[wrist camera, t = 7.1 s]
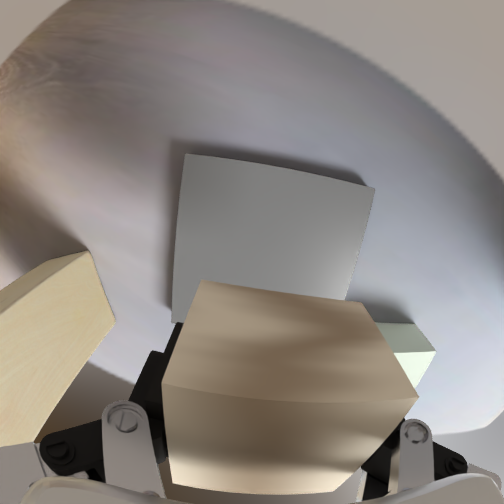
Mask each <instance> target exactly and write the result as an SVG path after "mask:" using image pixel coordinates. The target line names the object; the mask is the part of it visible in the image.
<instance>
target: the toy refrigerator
mask: <svg viewBox="0 0 504 504" xmlns="http://www.w3.org/2000/svg"><path fill="white" fill-rule="evenodd" d="M115 322H116V321H115V317H114V315H113V312H112V310H111V308H110V305H109V303H108V300H107V298H106V295H105V292H104V290H103V287H102V284H101V282H100V279H99V276H98V274H97V270H96V267H95V265H94V262H93V259H92V256H91V254H90V252H89V251H84V252H79V253H75V254H71V255H67V256H63V257H59V258H55V259H51V260H48V261H46V262H44V263H42V264H41V265H39V266H37V267H36V268H34V269H32V270H31V271H29V272H28V273H26V274H25V275H23V276H21V277H20V278H18V279H17V280H15V281H14V282H12V283H11V284H9V285H8V286H6V287H5V288H3V289H2V290H1V291H0V447H3V446H10V445H17V444H22V443H28V442H33V441H34V439H35V438H36V436H37V435H38V433H39V431H40V429H41V428H42V426H43V425H44V423H45V422H46V420H47V418H48V417H49V415H50V414H51V412H52V411H53V409H54V408H55V406H56V405H57V403H58V402H59V400H60V399H61V397H62V396H63V394H64V393H65V391H66V390H67V388H68V387H69V386H70V384H71V383H72V381H73V380H74V378H75V377H76V376H77V374H78V373H79V371H80V370H81V369H82V367H83V366H84V364H85V363H86V362H87V360H88V359H89V358H90V356H91V355H92V354H93V352H94V351H95V349H96V348H97V347H98V345H99V344H100V343H101V341H102V340H103V339H104V337H105V336H106V335H107V334H108V332H109V331H110V330H111V328H112V327H113V326H114V324H115Z"/></svg>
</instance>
